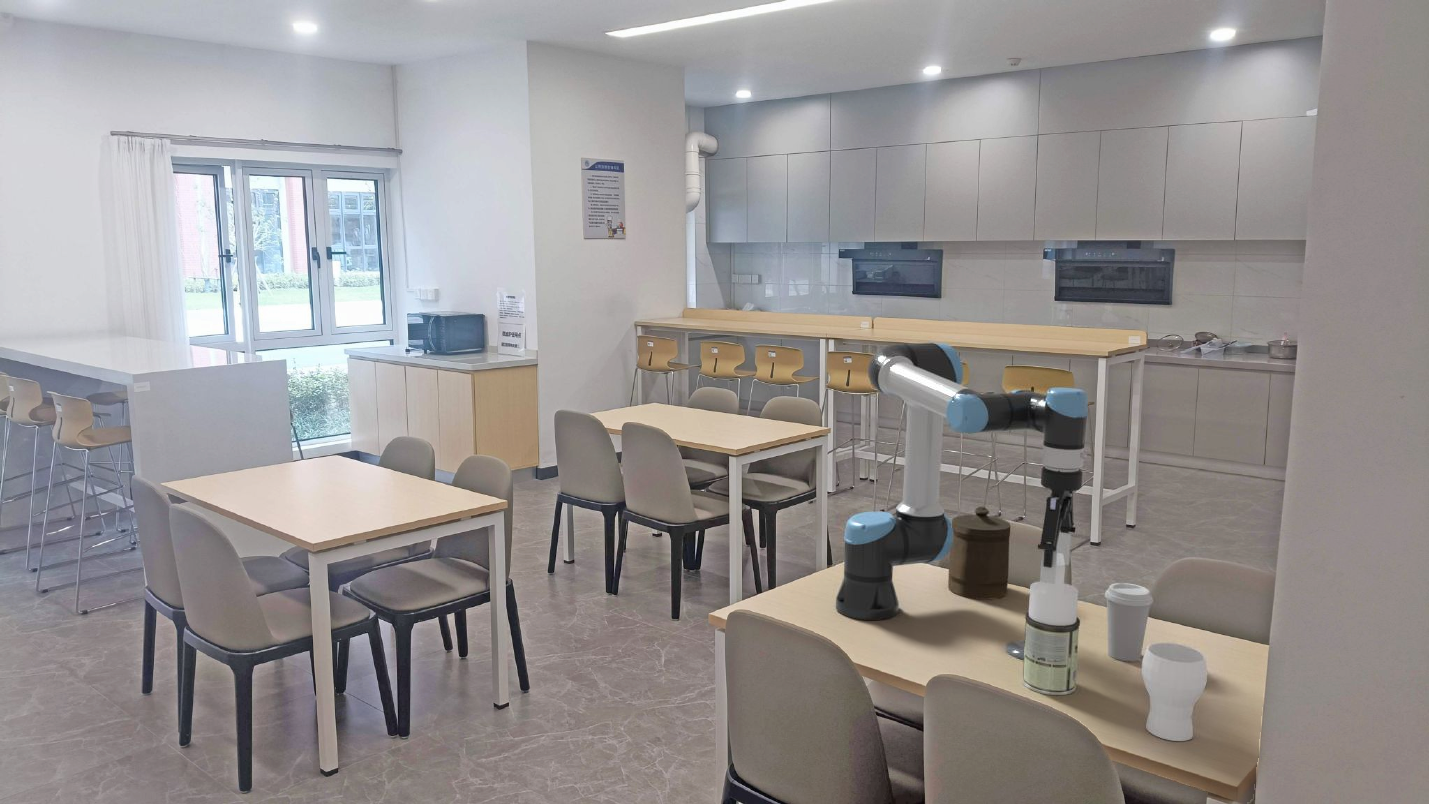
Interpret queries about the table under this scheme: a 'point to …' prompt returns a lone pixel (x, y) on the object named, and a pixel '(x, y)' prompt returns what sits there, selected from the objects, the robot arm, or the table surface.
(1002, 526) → the wooden container
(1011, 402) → the robot arm
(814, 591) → the table surface
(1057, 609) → the base with upright slab
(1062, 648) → the coffee can
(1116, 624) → the coffee cup
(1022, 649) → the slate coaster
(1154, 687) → the cup
